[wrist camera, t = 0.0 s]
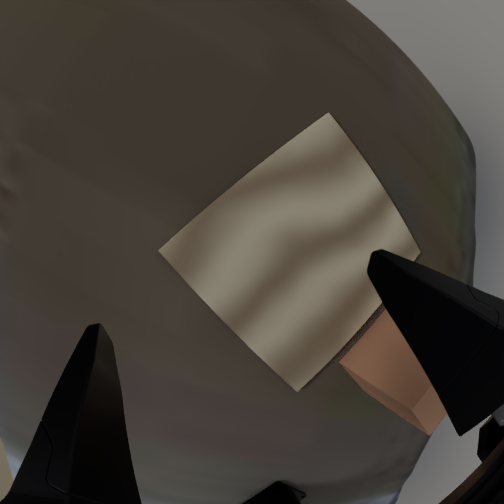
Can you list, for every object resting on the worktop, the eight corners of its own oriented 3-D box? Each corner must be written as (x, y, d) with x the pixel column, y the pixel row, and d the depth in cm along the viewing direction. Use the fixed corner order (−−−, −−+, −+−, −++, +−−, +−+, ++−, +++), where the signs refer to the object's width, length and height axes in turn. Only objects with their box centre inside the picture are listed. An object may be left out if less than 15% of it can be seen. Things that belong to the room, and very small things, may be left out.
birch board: (416, 251, 29) (420, 252, 28) (294, 389, 25) (297, 392, 25) (325, 114, 25) (328, 112, 25) (158, 250, 22) (158, 250, 21)
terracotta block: (407, 338, 29) (479, 365, 19) (363, 390, 28) (429, 435, 17) (388, 305, 28) (468, 328, 17) (338, 362, 27) (411, 409, 16)
